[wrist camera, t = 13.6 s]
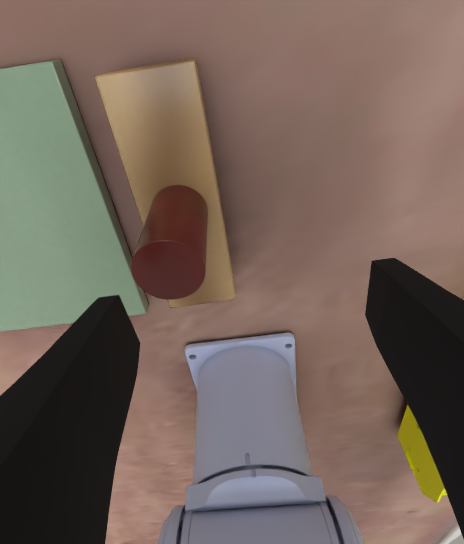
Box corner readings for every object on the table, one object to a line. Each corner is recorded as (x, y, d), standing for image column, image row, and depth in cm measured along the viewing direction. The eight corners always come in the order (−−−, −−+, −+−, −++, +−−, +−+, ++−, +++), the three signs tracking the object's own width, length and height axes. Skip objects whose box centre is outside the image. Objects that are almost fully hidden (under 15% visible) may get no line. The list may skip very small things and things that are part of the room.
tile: (148, 303, 23) (146, 314, 22) (-11, 323, 23) (-19, 334, 23) (61, 58, 15) (51, 60, 14) (-182, 96, 15) (-205, 100, 14)
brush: (198, 53, 15) (186, 76, 9) (234, 270, 22) (242, 370, 15) (112, 68, 15) (39, 100, 9) (174, 278, 22) (158, 380, 16)
